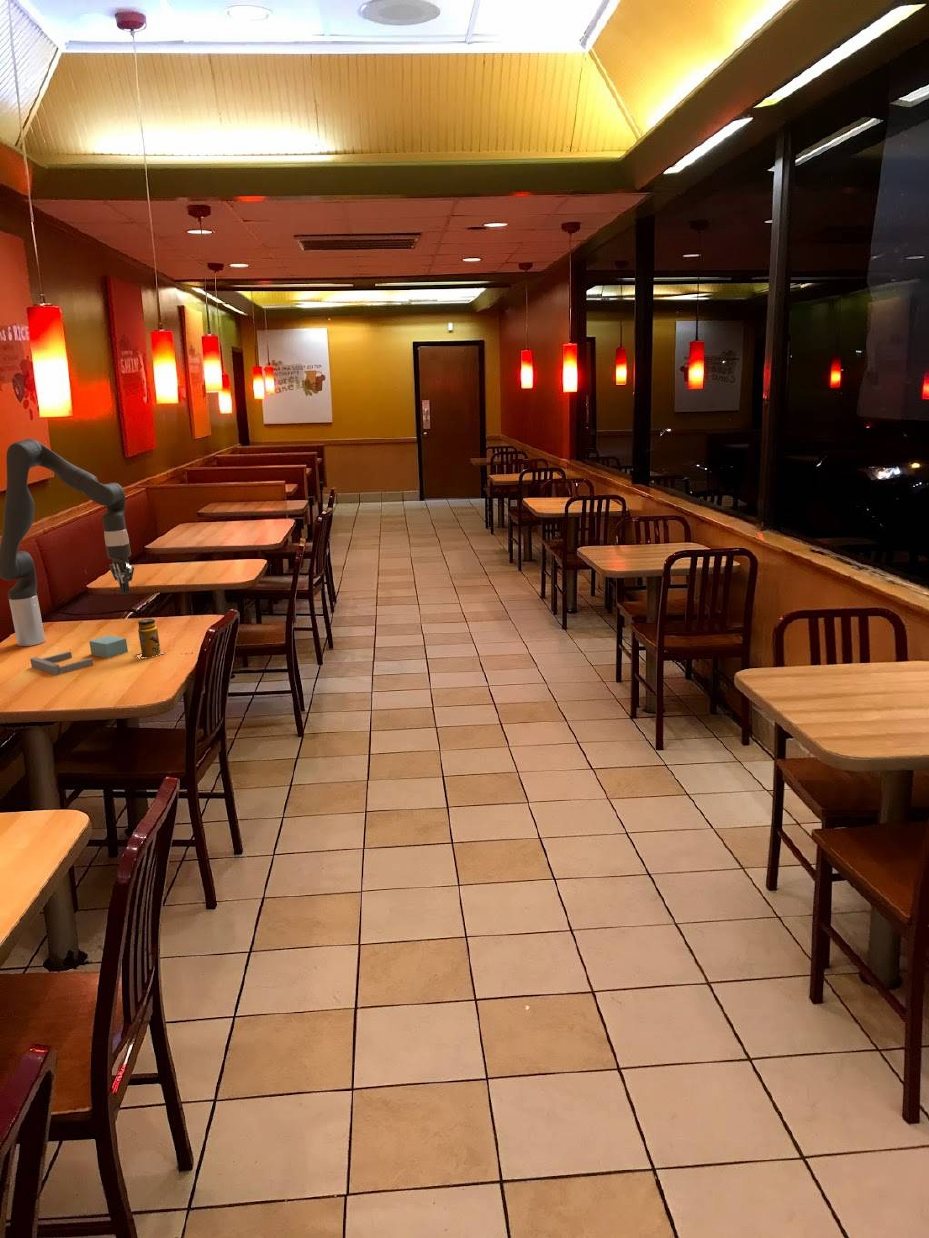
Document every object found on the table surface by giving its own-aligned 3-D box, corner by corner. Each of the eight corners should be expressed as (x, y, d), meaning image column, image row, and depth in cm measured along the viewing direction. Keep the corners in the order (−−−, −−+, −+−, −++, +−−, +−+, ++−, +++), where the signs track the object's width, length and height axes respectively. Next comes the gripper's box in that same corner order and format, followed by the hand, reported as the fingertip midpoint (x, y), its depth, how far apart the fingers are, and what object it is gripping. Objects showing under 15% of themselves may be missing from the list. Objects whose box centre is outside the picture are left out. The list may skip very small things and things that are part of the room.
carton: (91, 654, 315) (89, 640, 313) (111, 649, 320) (108, 635, 319) (108, 658, 309) (106, 644, 308) (128, 652, 315) (125, 638, 313)
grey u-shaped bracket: (31, 667, 304) (30, 658, 303) (70, 657, 313) (68, 648, 312) (54, 675, 293) (52, 666, 292) (93, 664, 302) (92, 655, 301)
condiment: (164, 654, 308) (159, 620, 305) (138, 660, 304) (133, 625, 301) (158, 650, 314) (153, 616, 311) (133, 655, 310) (127, 621, 307)
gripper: (97, 543, 314) (105, 593, 318) (117, 546, 305) (125, 597, 309) (117, 539, 319) (125, 588, 323) (137, 542, 310) (145, 593, 314)
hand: (125, 593), depth 316 cm, fingers closed
